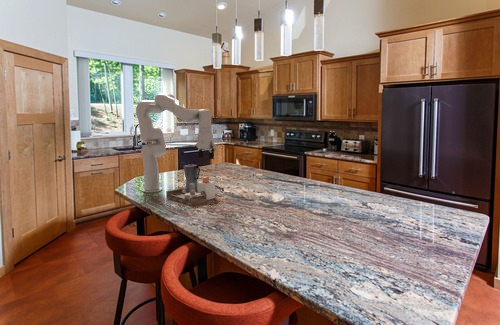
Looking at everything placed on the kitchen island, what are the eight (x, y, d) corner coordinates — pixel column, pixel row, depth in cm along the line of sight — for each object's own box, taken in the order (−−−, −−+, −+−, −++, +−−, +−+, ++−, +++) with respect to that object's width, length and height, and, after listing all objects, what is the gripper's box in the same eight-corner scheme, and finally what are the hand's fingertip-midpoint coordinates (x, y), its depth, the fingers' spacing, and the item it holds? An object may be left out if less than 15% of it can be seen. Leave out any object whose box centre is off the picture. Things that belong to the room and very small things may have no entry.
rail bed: (166, 198, 202) (166, 191, 201) (181, 194, 210) (180, 187, 209) (192, 205, 186) (191, 198, 185) (206, 201, 194) (206, 194, 194)
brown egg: (201, 183, 201) (201, 177, 200) (206, 182, 204) (206, 176, 203) (205, 184, 198) (205, 178, 198) (210, 183, 201) (210, 177, 201)
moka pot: (189, 188, 227) (188, 160, 224) (206, 191, 218) (205, 162, 215) (179, 191, 219) (178, 161, 216) (196, 194, 210) (195, 164, 207)
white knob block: (197, 198, 202) (196, 182, 201) (206, 195, 208) (205, 180, 206) (205, 200, 197) (205, 184, 195) (214, 197, 203) (214, 182, 201)
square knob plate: (184, 199, 193) (183, 184, 192) (193, 196, 199) (193, 182, 197) (191, 201, 189) (191, 186, 187) (201, 198, 194) (200, 183, 193)
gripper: (191, 130, 200) (192, 157, 202) (210, 131, 188) (211, 160, 191) (200, 129, 205) (201, 156, 208) (219, 130, 194) (220, 158, 197)
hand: (206, 158), depth 200 cm, fingers open, 9 cm apart
